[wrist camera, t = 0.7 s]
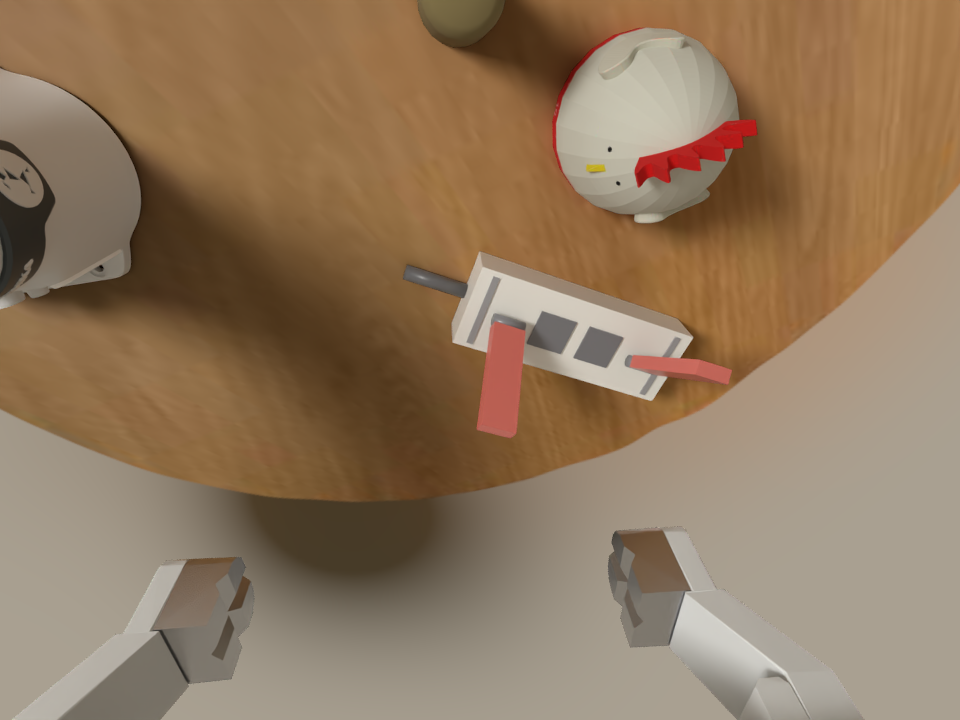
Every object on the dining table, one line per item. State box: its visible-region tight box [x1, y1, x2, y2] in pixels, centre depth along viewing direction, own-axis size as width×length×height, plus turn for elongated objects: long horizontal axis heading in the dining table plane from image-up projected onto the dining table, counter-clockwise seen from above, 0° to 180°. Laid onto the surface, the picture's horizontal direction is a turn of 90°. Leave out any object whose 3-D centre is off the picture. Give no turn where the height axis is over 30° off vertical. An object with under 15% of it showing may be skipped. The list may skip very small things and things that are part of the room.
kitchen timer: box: [552, 28, 757, 223], centre depth 38 cm, size 14×14×15 cm
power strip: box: [403, 251, 693, 401], centre depth 51 cm, size 28×8×4 cm, turn 69°
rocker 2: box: [625, 355, 732, 385], centre depth 46 cm, size 3×1×11 cm, turn 69°
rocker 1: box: [477, 313, 526, 438], centre depth 45 cm, size 3×1×11 cm
